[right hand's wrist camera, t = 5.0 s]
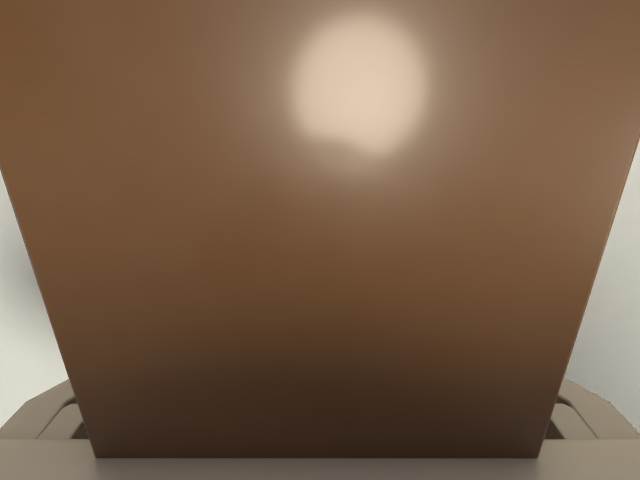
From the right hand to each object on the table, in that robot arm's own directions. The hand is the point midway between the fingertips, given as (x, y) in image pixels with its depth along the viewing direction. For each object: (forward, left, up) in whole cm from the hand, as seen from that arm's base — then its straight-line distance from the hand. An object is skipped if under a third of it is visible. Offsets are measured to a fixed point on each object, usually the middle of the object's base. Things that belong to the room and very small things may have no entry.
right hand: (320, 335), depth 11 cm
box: (+9, 0, -4) cm, 10 cm away
